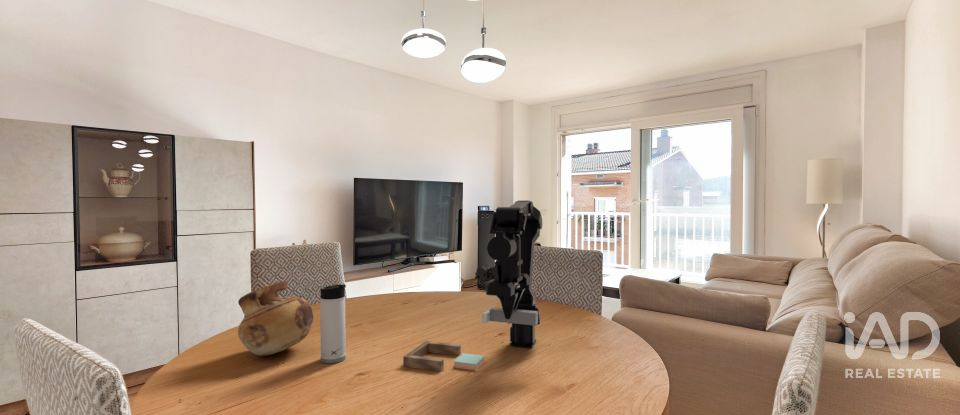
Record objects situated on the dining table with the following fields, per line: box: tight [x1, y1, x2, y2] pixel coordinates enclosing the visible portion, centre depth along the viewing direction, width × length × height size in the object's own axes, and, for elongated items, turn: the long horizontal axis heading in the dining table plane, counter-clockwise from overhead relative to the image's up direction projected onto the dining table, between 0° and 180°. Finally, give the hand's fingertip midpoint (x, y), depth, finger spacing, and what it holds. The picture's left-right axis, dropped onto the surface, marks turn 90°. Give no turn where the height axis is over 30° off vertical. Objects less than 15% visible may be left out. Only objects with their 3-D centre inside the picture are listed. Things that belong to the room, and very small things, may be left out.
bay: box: [402, 340, 462, 372], centre depth 113 cm, size 10×13×2 cm
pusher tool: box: [481, 306, 539, 327], centre depth 108 cm, size 13×7×3 cm, turn 69°
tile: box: [453, 352, 485, 371], centre depth 110 cm, size 6×6×2 cm
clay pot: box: [237, 280, 314, 357], centre depth 118 cm, size 19×19×20 cm
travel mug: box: [319, 283, 347, 365], centre depth 114 cm, size 6×7×20 cm
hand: (509, 317), depth 109 cm, fingers closed on pusher tool, 2 cm apart
